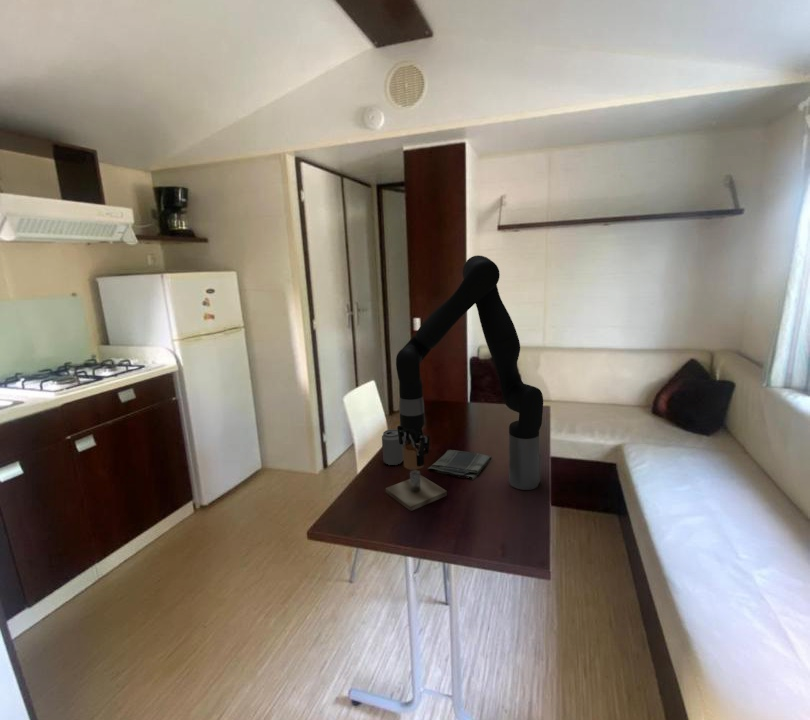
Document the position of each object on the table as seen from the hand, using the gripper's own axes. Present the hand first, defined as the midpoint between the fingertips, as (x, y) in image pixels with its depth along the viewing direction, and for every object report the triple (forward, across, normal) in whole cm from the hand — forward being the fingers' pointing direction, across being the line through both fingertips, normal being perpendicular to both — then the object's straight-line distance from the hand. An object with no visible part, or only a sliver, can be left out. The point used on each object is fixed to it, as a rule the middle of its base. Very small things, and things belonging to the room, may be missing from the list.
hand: (414, 461), depth 134 cm
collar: (+1, 0, 0) cm, 1 cm away
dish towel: (+12, +6, -24) cm, 28 cm away
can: (+11, +24, -8) cm, 28 cm away
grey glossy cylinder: (+10, 0, 0) cm, 10 cm away
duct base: (+11, 0, 0) cm, 11 cm away
